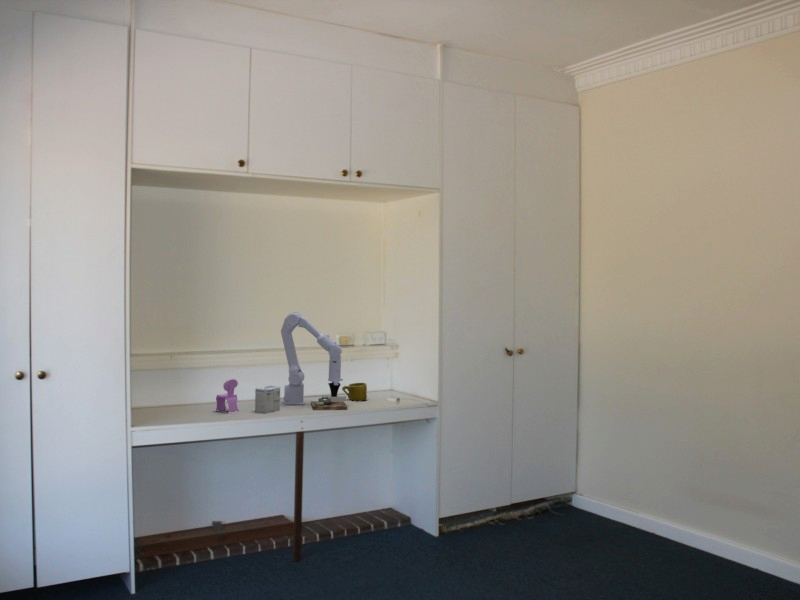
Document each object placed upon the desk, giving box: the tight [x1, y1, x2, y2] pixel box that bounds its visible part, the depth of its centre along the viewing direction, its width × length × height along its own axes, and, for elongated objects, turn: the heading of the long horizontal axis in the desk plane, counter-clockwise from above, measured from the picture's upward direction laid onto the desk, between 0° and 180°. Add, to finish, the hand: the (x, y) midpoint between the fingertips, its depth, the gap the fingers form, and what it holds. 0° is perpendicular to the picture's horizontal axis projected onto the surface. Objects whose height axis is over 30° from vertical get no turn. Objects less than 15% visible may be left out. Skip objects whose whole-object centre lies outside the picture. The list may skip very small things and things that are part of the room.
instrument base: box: [310, 400, 348, 411], centre depth 360 cm, size 16×14×3 cm
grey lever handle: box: [318, 395, 347, 405], centre depth 361 cm, size 13×6×3 cm, turn 101°
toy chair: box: [215, 378, 240, 414], centre depth 342 cm, size 8×9×15 cm
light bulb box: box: [254, 385, 281, 414], centre depth 347 cm, size 11×7×11 cm, turn 152°
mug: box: [341, 382, 368, 402], centre depth 383 cm, size 12×10×10 cm
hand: (333, 397), depth 366 cm, fingers closed
